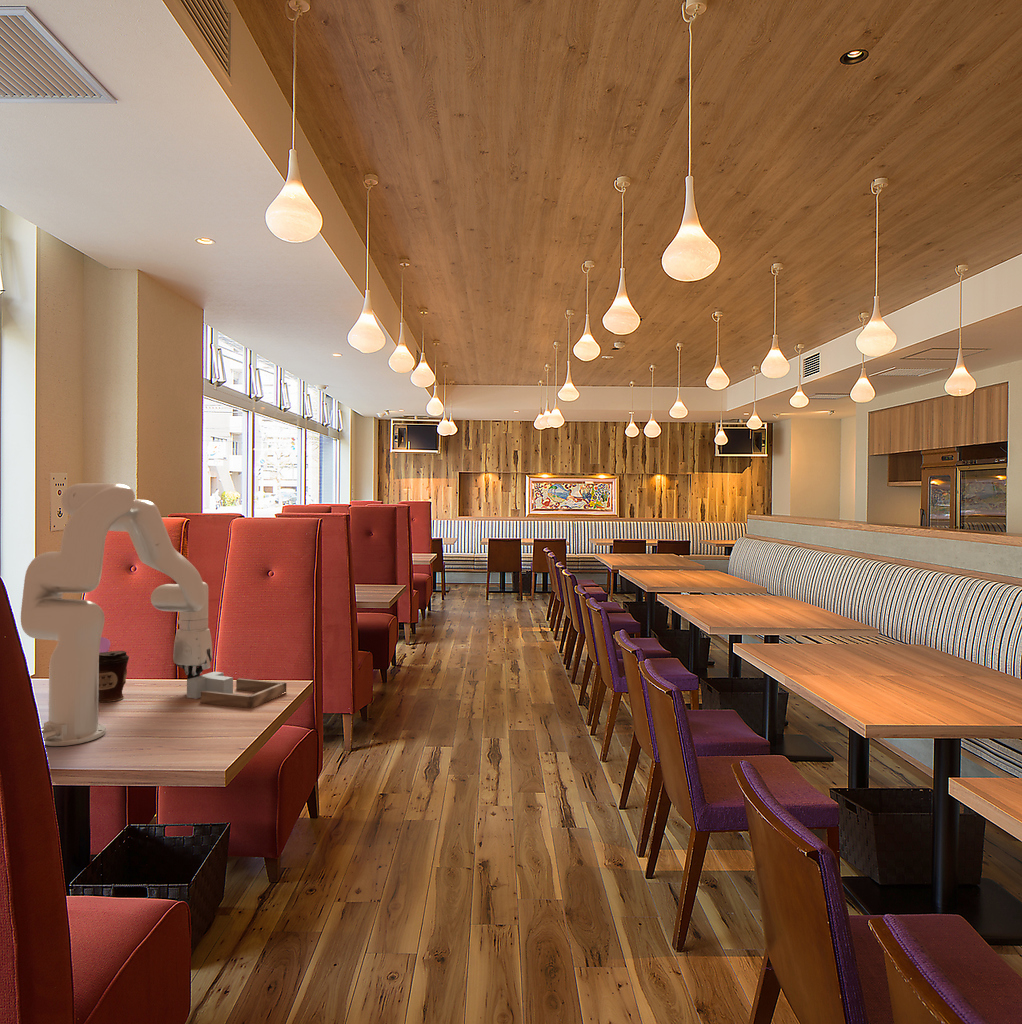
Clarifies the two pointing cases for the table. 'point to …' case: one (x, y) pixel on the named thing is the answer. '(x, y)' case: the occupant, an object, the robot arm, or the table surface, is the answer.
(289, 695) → the table surface
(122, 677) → the coffee cup
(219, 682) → the tee block
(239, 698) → the corral
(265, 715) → the table surface
